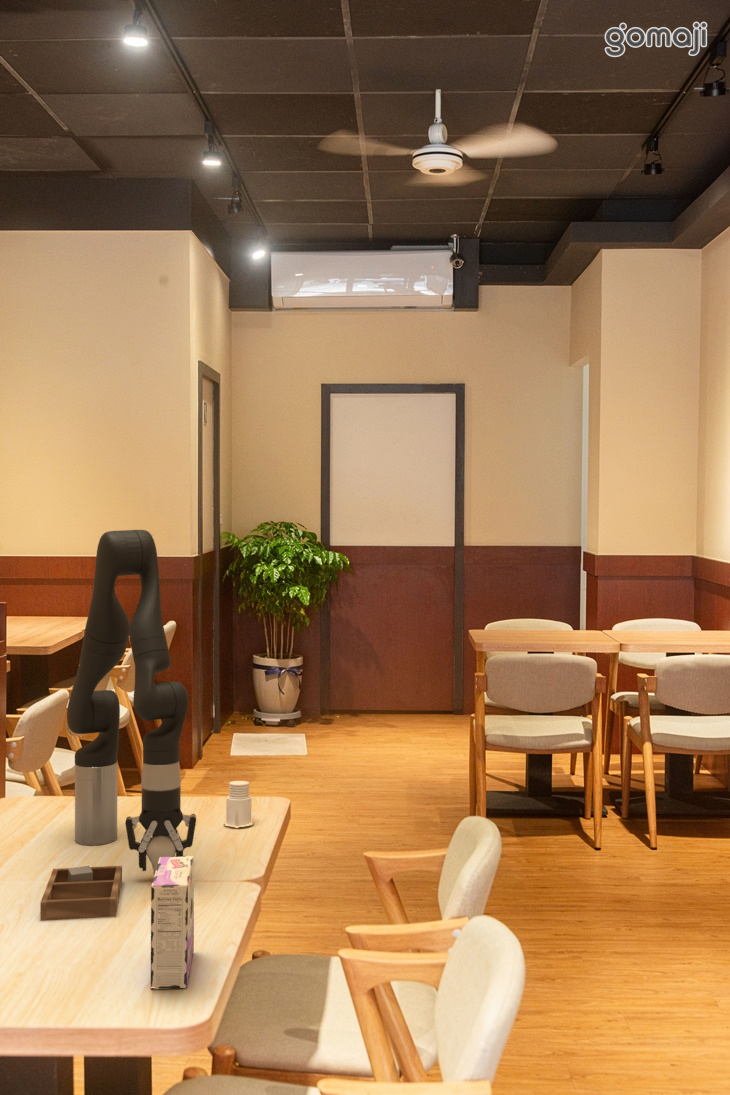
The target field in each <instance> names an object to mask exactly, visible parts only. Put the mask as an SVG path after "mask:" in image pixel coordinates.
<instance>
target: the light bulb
mask: <svg viewBox="0 0 730 1095" xmlns="http://www.w3.org/2000/svg"><path fill="white" fill-rule="evenodd" d="M145 849H146V858H147V859H148V860H149V861H150V863H151V866H152V871H153V876H154V875H155V872H156V868H157V865H158V861H159V858H160V857H176V846H175V844H174V842H173V840H172V838H171V836H170V835H169V836H158V837H153V836H151V838H150V841H149V842H148V844H147V846H146V848H145Z"/></svg>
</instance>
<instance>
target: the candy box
mask: <svg viewBox="0 0 730 1095" xmlns="http://www.w3.org/2000/svg"><path fill="white" fill-rule="evenodd" d="M194 860H195V859H194V855H183V856H177V857H176V856H174V857H160V858H159V861H158V865H157V868H156V872H155V875H154V874H153V876H154V877H153V879H152V882H151V886H150V895H151V896H150V988H151V987H155V988H186V987H187V988H188V986H189V978H190V973H191V970H192V969H191V966H192V962H193V956H194V950H195V945H194V944H195V935H194V934H195V901H194V900H195V898H194V897H195V894H194V893H195V882H194V881H195V876H194V874H195V868H194V866H195V865H194V864H195V863H194V862H195V861H194ZM187 988H186V989H187Z"/></svg>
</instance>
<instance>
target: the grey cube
mask: <svg viewBox="0 0 730 1095" xmlns="http://www.w3.org/2000/svg"><path fill="white" fill-rule="evenodd" d="M90 867H91V866H90V865H83V866H77V867H67V868H68V882H80V881H93V871H92V870H91V868H90Z"/></svg>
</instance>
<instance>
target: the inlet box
mask: <svg viewBox="0 0 730 1095" xmlns="http://www.w3.org/2000/svg"><path fill="white" fill-rule="evenodd" d="M68 868H69V867H64V868H62V867H61V868H52V870H51V873H50V876H49V879H48V882H47V884H46V886H45V890H44V891H43V892H44V893H43V895H42V897H41V900H40V903H39V904H40V905H39V906H40V909H39V910H40V917H39V918H40V921H60V920H61V921H62V920H76V919H96V918H97V919H98V918H99V919H100V918H112V917H113V918H116V916H117V912H118V906H119V901H120V895H121V889H122V884H123V866H122V865H110V866H109V865H108V866H107V865H106V866H90V868H91V870H92V871H93V881H80V882H68Z"/></svg>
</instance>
